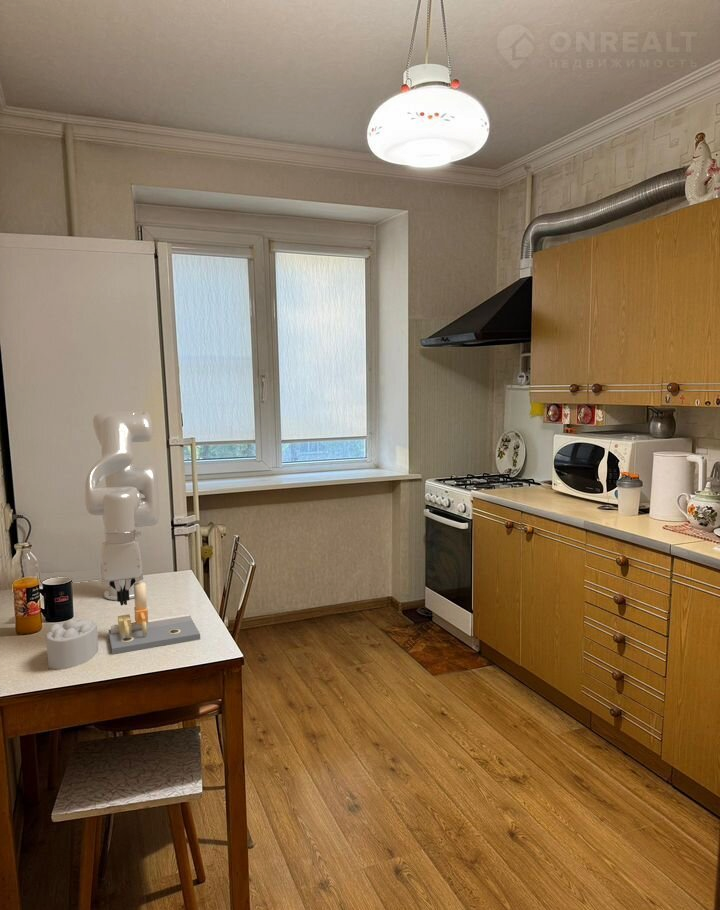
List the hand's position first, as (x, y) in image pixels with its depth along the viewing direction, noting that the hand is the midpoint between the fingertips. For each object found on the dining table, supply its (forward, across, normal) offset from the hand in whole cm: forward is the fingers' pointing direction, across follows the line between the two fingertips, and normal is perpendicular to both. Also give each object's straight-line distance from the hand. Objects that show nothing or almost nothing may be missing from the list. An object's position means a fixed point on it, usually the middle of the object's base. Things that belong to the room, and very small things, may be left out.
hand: (123, 603), depth 170 cm
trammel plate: (+9, -7, +4) cm, 12 cm away
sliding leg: (+7, -4, +3) cm, 9 cm away
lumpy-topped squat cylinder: (+9, +13, +9) cm, 19 cm away
